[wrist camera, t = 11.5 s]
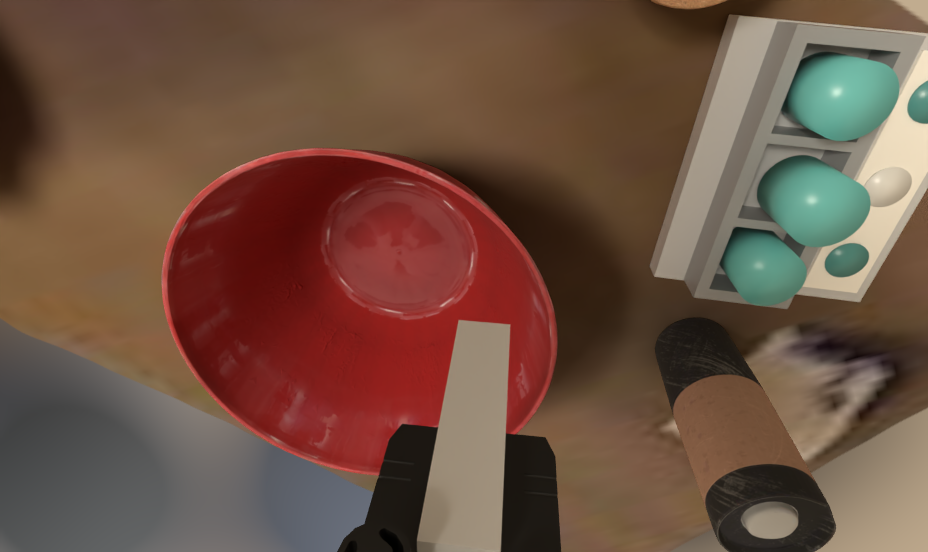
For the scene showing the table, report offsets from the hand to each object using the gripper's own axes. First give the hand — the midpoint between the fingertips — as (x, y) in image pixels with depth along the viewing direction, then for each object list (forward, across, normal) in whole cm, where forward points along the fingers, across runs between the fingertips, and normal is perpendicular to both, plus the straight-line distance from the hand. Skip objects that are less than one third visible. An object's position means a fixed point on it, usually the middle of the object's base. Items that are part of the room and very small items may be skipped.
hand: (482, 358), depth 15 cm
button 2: (+25, +21, -3) cm, 33 cm away
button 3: (+28, +21, -10) cm, 36 cm away
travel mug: (+30, +20, -22) cm, 43 cm away
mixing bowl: (+31, -9, -14) cm, 35 cm away
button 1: (+28, +21, +3) cm, 35 cm away
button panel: (+30, +24, -3) cm, 39 cm away
